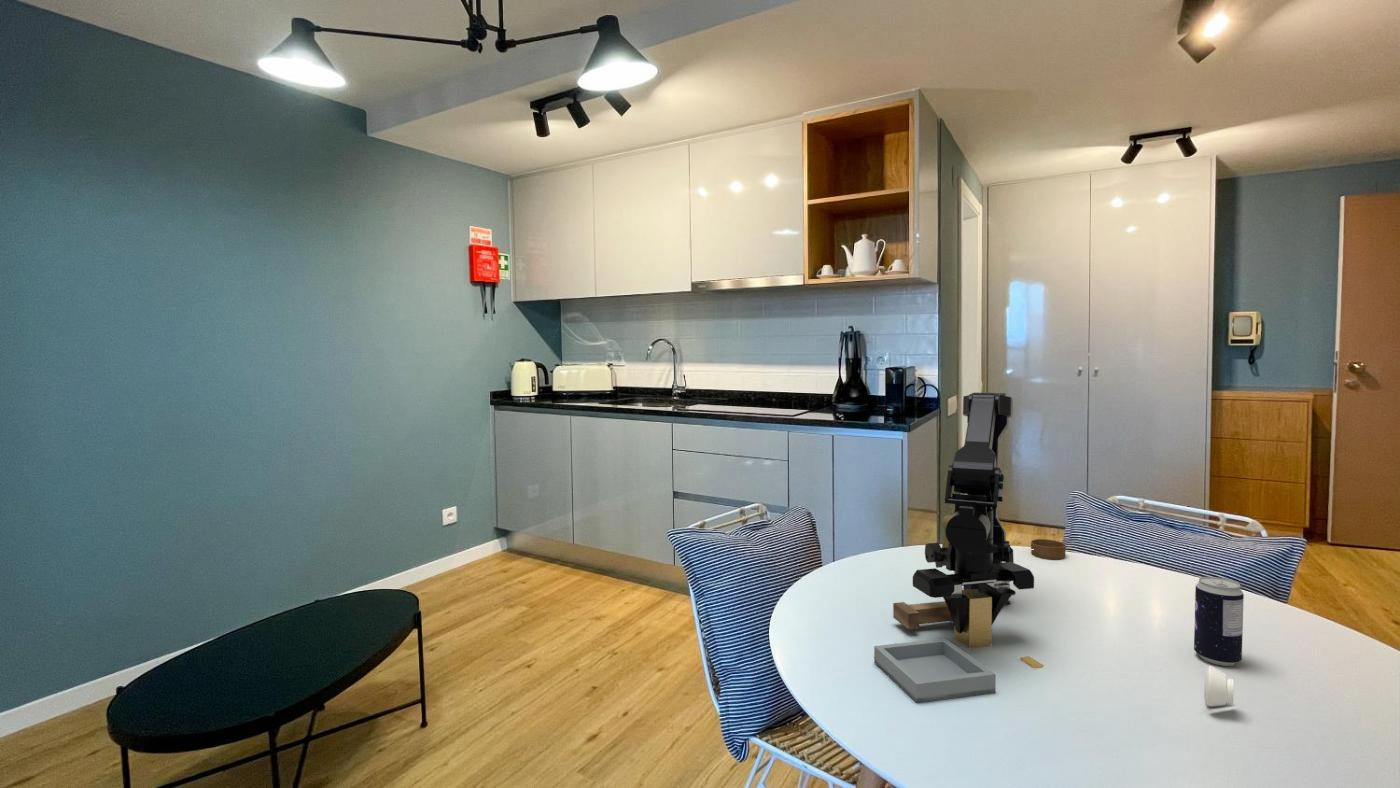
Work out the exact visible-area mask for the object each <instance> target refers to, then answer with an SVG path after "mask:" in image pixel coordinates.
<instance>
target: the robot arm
mask: <svg viewBox="0 0 1400 788" xmlns="http://www.w3.org/2000/svg"><path fill="white" fill-rule="evenodd" d="M962 398H963V399H962V400H963V401H962V415H963V416H964V417H967V425H966V433H965V440H964V444H963V446H962V447H960V448H959V449H958V450H956V451H955V452H954V454H953V455H954V456H953V461H952V464H949V465H948V468H947V477H946V486H945V493H944V494H945V495H944V504H949V505H954V512H953V514H952V515H953V516H952V517H951V519H950V520H949V522H948V523H947V526H946V530H945V532H946V537H947V540H948V541H949V547H946V548H942V545H941V544H940V543H939V542H932V543H930V542H929V543H925V545H924V557H925V561H926V562H927V563H929V564H930V563H934V564H935V567H934V568H925V569H916V570H915V572H914V573H913V576H912V587H914V588H915V589H917V590H918V591H920V592H921V593H923V594H925V595H926V596H928V597H930V598H935V599H937V598H943V601H945V602H946V604H947V606H948V609H949V612H950V615H951V617H952V620H953V623H954V626H955V628H956V631H957V632H959V633H962V632H963V628H964V623H965V615H966V608H967V600H968V597H967V596H965V595H964V594H962V590H967V589H978V590H980V591H982V592H983V593H985V594H987V595H989V596H991V597H992V625H994V623H995V621H996V619H997V617H998V615H999V614H1000V612H1001V611H1002V610H1003V608H1004V607H1005V605H1010V604H1011V600H1009V599H1010V598H1011V597H1012V596H1016V594H1017V593H1016V590H1014V589H1012V588H1011V585H1010V582H1012V585H1013V586H1014V587H1015V588H1016V589H1018V590H1020V591H1021V590H1029V589H1035V576H1034V574H1033V571H1031V569H1029V568H1026V567H1025V566H1022V565H1021V564H1017V563H1015V562H1014V549H1013V548H1012V547H1011V544H1010V541H1009V540H1007V539H1006V538H1007V535H1006V534H1007V532H1006V529H1005V527H1004V526H1003V525H1002V522H1001V521H1000V519H999V517H998V507H999V504H1000V503H999V502H1003V501H1004V500H1003V499H1004V498H1003V497H1004V489H1005V488H1004V487H1005V475H1004V474H1003V473H1002V468H1001V467H999V464H1000V463H999V462H1000V461H999V459H1000V439H1001V438H1002V437H1003V436H1004V435H1005V432H1006V431H1007V430H1008V428H1009V425H1010V424H1009V421H1010V418H1012V419H1013V417H1014V416H1013V412H1014V400H1013V397H1011V396H1007V393H1006V392H1005V393H1004V392H1003V393H1002V392H998V393H997V392H971V393H970V394H967V395H964V396H963V397H962ZM953 492H954V493H953ZM943 567H945V569H946V570H947V571H951V572H952V571H953V572H954V573H950V574H949V573H948V574H947V573H945V572H943V571H941V570H939V568H943ZM937 568H938V569H937ZM954 626H953V627H954Z"/></svg>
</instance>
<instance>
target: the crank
mask: <svg viewBox="0 0 1400 788" xmlns="http://www.w3.org/2000/svg"><path fill="white" fill-rule="evenodd" d="M892 605H893V606H892V607H893V608H892V611H893V612H892V613H893V614H892V615H893V616H892V617H893V619H894V620H895V621H897V622H898V623H900V625H902V626H904V627H905V628H906V629H907V630H913V629H914V630H915V629H920V625H928V624H935V623H936V624H938V623H947V622H948V623H949V621H953V620H952V617H951V615H950V612H949V609H948V606H947V604H946V602H945V600H943V601H942V600H941V601H933V602H923V603H922V602H921V603H912V604H908V603H906V602H905V601H900V602H893V604H892Z"/></svg>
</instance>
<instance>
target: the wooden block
mask: <svg viewBox="0 0 1400 788" xmlns="http://www.w3.org/2000/svg"><path fill="white" fill-rule="evenodd" d="M962 594H964V595H965V596H967V597H968V600H967V608H966V615H965V623H964V628H963V632H962V633H959V632H957V631H956V628H955V626H953V627H954V632H953V633H954V635H953V638H954V640H956V641H957V642H959V643H960V644H962V645H964V646H965V647H966V648H968V649H969V650H970V649H976V648H977V649H978V648H985V647H987V648H988V647H992V638H993V637H992V635H993V634H992V631H993V630H992V629H993V628H992V626H993V624H992V597H991V596H989V595H987V594H985V593H983V592H982V591H980V590H978V589H967V590H964V589H962Z"/></svg>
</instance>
